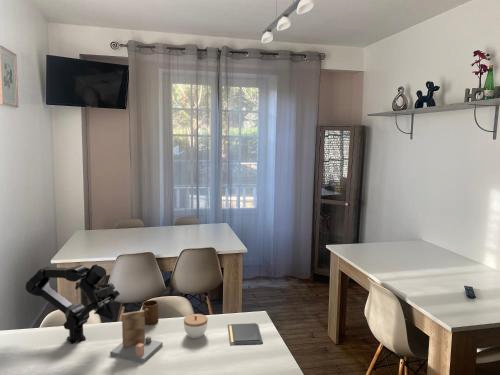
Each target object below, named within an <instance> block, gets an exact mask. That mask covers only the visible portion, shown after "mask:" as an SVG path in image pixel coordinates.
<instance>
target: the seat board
mask: <svg viewBox="0 0 500 375" xmlns="http://www.w3.org/2000/svg"><path fill="white" fill-rule="evenodd" d="M162 347H163V341H157V340H153V339H152V337H151V336H145V343H138V344H137V345H132V346H127V347H123V341H122V342H121V343H120V344H118V345H116V346H115V348H112V350H110V352H109V354H110V356H112V357H113V356H114V357H118V358H123V359H126V360H130V361H131V360H132V361H135V362H141V363H145V362H146V361H148V360H149V358H151V357H152V356H153V355H154V354H155V353H156V352H157V351H158V350H159V349H161V348H162Z"/></svg>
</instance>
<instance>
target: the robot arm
mask: <svg viewBox="0 0 500 375" xmlns="http://www.w3.org/2000/svg"><path fill="white" fill-rule="evenodd" d="M106 276H107V270H106V269H105V268H104V267H102V266H100V265H98V264H97V263H95V264H93V265H92V266H91V267H90V268H89V267H86V266H85V265H84V264H80V265H74V266H71V267H55V266H53V267H50V266H46V267H43V268H40V269H39V270H37V272H36V273H35V274H34V275H33V276H32V277H31V278H30V279H29V280H28V281H27V282H26V284H25V290H26V292H27V293H28V294H31V295H33V296H35V297H41V298H43V299H44V300H45V301H47V302H48V303H49V304H51V305H52V306H53V307H55V308H57V310H59V311H60V312H62V313H63V314H64V316H65V320H66V321H65V322H64V323H63V328H64V329H65V330H68V336H67V337H66V338H67V340H68V342H69V344H71V345H72V344H74V343H78V342H81V341H85V340H86V339H87V338H86V336H85V335H84V325H85V324H86V323H88V320H89V318H90V313H91V312H92V311H94V312H93V314H94V315H99V316H101V317H105V318H107V319H108V320H111V321H113V320H114V319H115V316H114V312H113V308H112V303H113V302H114V301H115V300H116V299H117V298H118V297H119V296H121V295H120V294H121V293H120V292H119V291H118V290H115V288H116V287H115V284H113V283H112V282H110V283H108V284H106V285H105V287H104V288H103V287H101V286H98V284H99V283H100V282H101V281H102V280H103V279H104V277H106ZM52 278H53V279H65V280H66V281H69V282H73V283H75V290H78V289H80V290H81V292H82V293H83V295H84V296H85V297H84V299H85V301H87V300H89V302H90V303H89V304H87V305H86V306H85V305H83V304H82V303H81V302H78V303H76V304H74V303H71V301H69V300H68V299H67V298H65V297H64V296H62V295H61V294H59V293H58V292H57V291H56V290H54V289H53V288H51V286H50V282H49V281H50V280H51V279H52ZM79 280H80V281H79Z"/></svg>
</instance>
